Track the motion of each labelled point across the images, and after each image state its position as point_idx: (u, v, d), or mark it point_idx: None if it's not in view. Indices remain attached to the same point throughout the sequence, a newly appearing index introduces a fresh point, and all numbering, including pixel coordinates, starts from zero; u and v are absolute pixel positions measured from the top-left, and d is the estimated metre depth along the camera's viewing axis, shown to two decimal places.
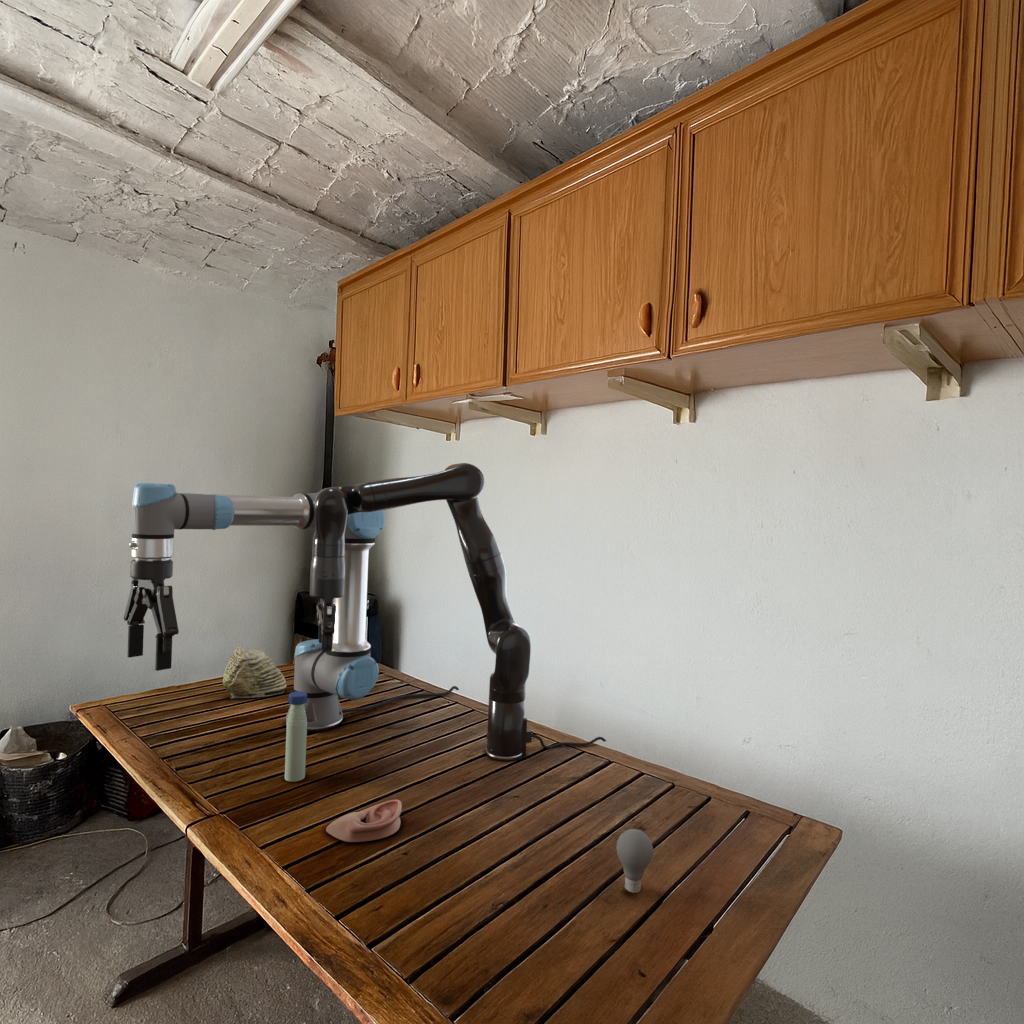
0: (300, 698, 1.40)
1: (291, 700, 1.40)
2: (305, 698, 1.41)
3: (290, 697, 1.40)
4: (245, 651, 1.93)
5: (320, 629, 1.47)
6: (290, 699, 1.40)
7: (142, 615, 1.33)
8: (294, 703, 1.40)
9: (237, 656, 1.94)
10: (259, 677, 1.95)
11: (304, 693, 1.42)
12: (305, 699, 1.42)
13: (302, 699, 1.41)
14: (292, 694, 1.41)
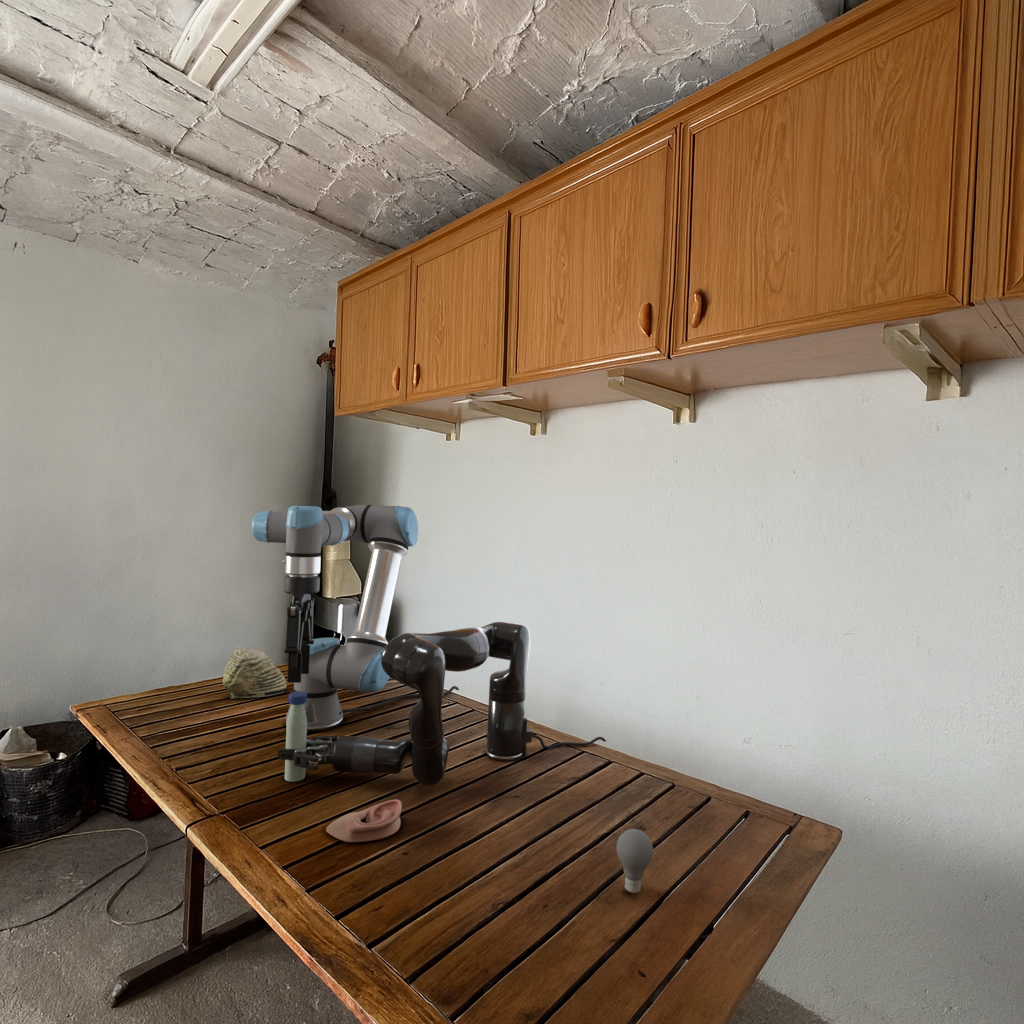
0: (300, 698, 1.40)
1: (291, 700, 1.40)
2: (305, 698, 1.41)
3: (290, 697, 1.40)
4: (245, 651, 1.93)
5: None
6: (290, 699, 1.40)
7: (306, 633, 1.45)
8: (294, 703, 1.40)
9: (237, 656, 1.94)
10: (259, 677, 1.95)
11: (304, 693, 1.42)
12: (305, 699, 1.42)
13: (302, 699, 1.41)
14: (292, 694, 1.41)
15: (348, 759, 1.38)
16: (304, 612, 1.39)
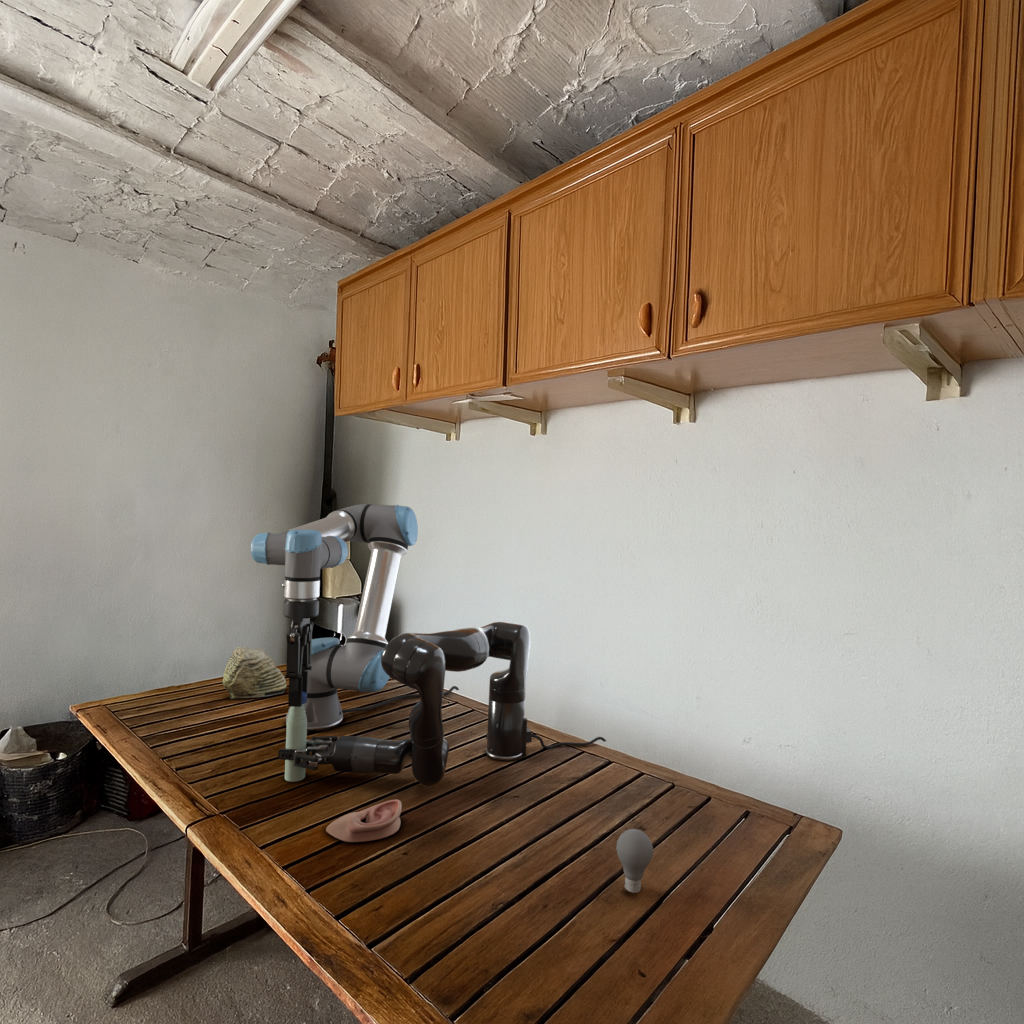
0: None
1: None
2: (305, 698, 1.41)
3: None
4: (245, 651, 1.93)
5: None
6: None
7: (304, 658, 1.44)
8: None
9: (237, 656, 1.94)
10: (259, 677, 1.95)
11: (304, 693, 1.42)
12: (305, 699, 1.42)
13: (302, 699, 1.41)
14: None
15: (348, 759, 1.38)
16: (303, 637, 1.40)
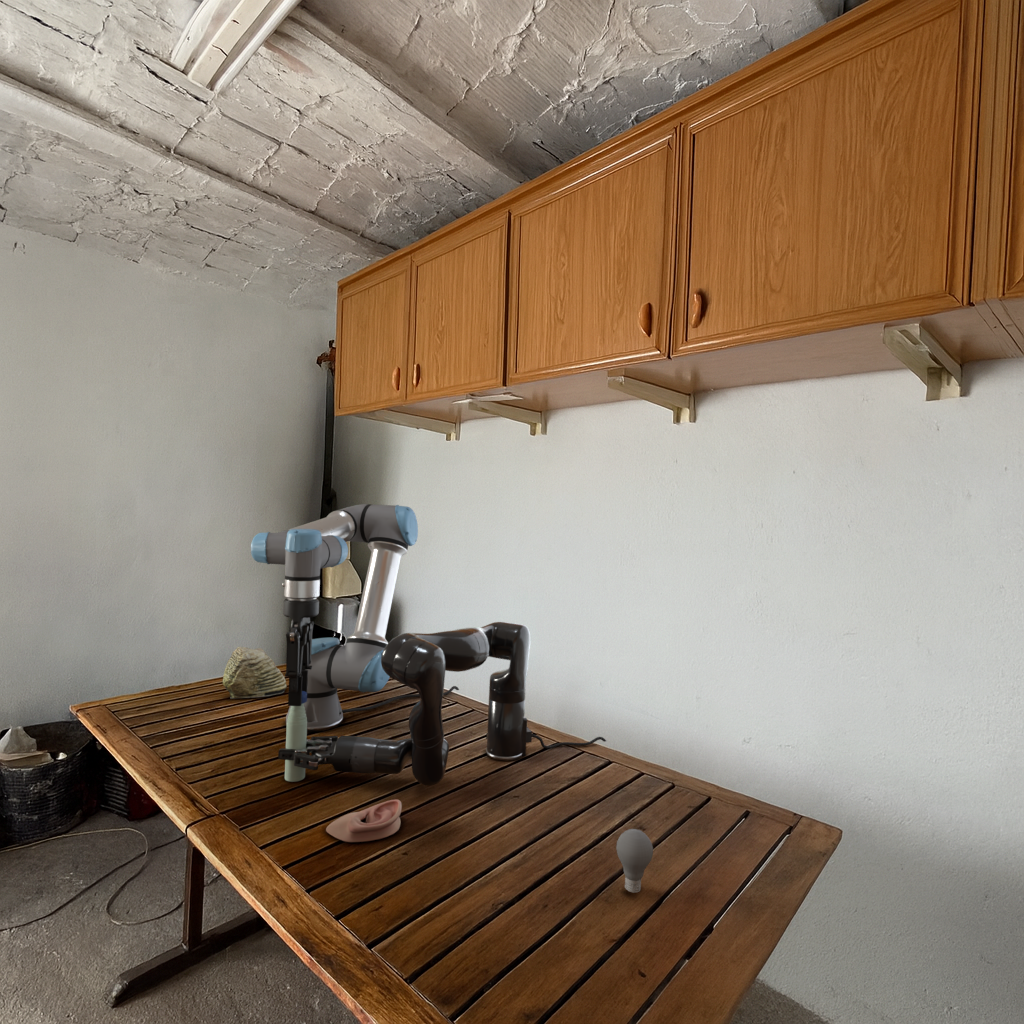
0: None
1: (306, 697, 1.42)
2: None
3: (306, 695, 1.42)
4: (245, 651, 1.93)
5: None
6: (306, 696, 1.42)
7: (305, 657, 1.44)
8: None
9: (237, 656, 1.94)
10: (259, 677, 1.95)
11: None
12: None
13: None
14: (302, 694, 1.41)
15: (348, 759, 1.38)
16: (303, 636, 1.40)
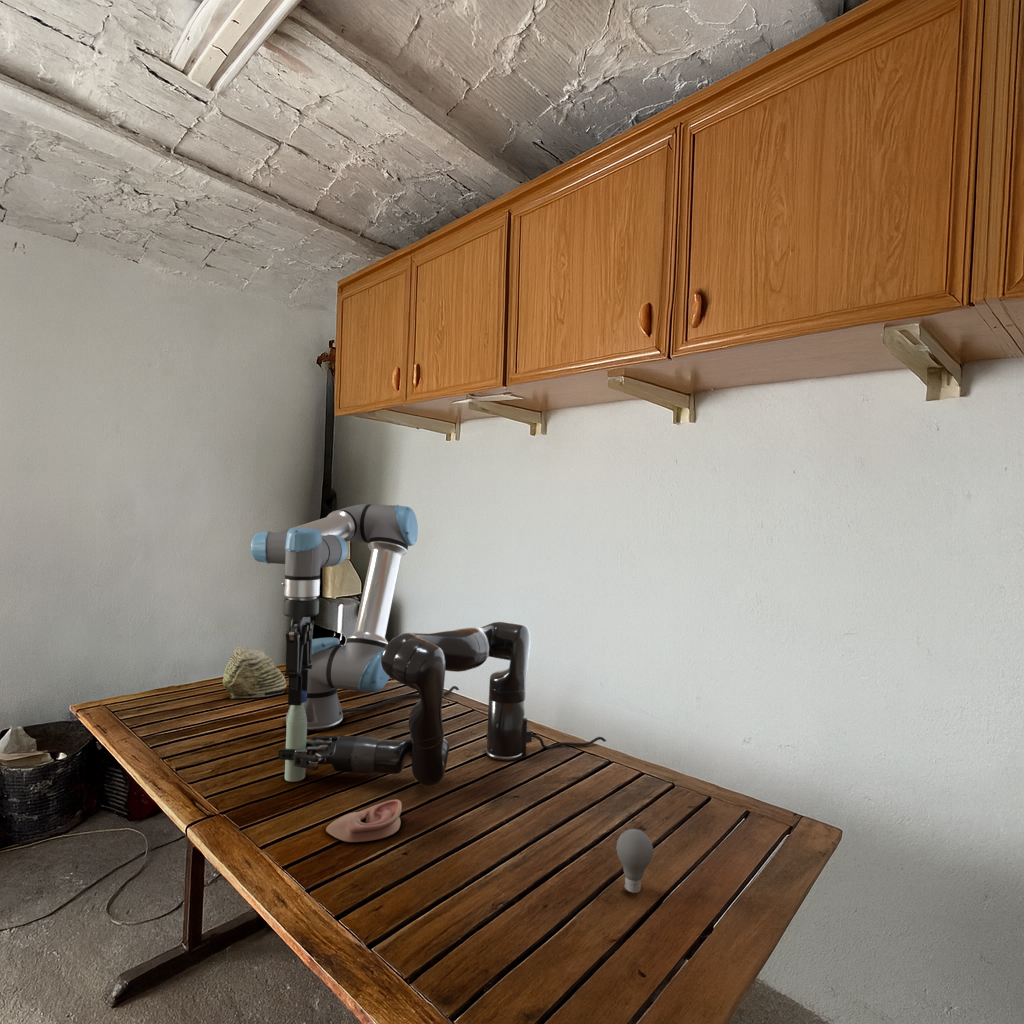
0: None
1: None
2: None
3: None
4: (245, 651, 1.93)
5: None
6: None
7: (305, 656, 1.44)
8: None
9: (237, 656, 1.94)
10: (259, 677, 1.95)
11: None
12: None
13: None
14: None
15: (348, 759, 1.38)
16: (303, 635, 1.40)
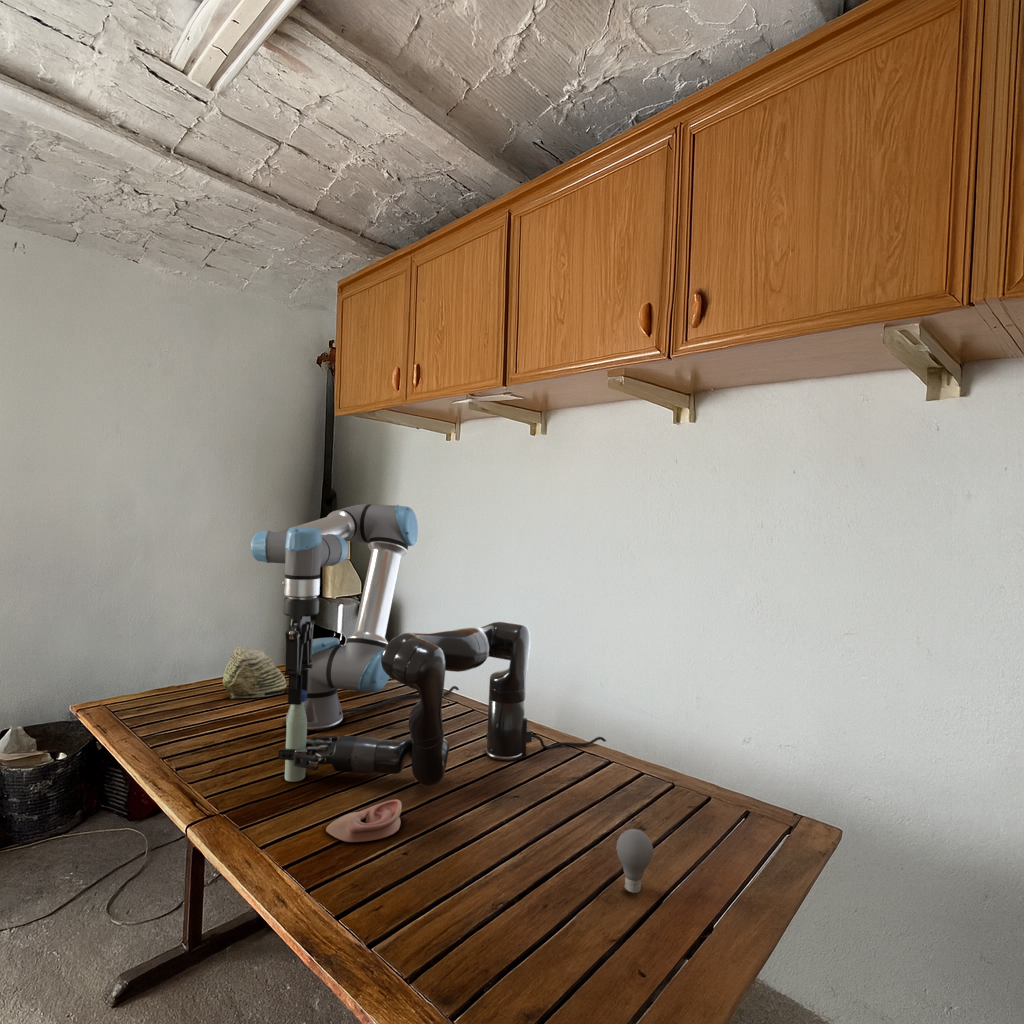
0: (304, 695, 1.41)
1: None
2: (306, 695, 1.42)
3: None
4: (245, 651, 1.93)
5: None
6: None
7: (305, 656, 1.44)
8: None
9: (237, 656, 1.94)
10: (259, 677, 1.95)
11: (303, 690, 1.43)
12: (306, 696, 1.43)
13: (305, 696, 1.42)
14: None
15: (348, 759, 1.38)
16: (303, 635, 1.40)
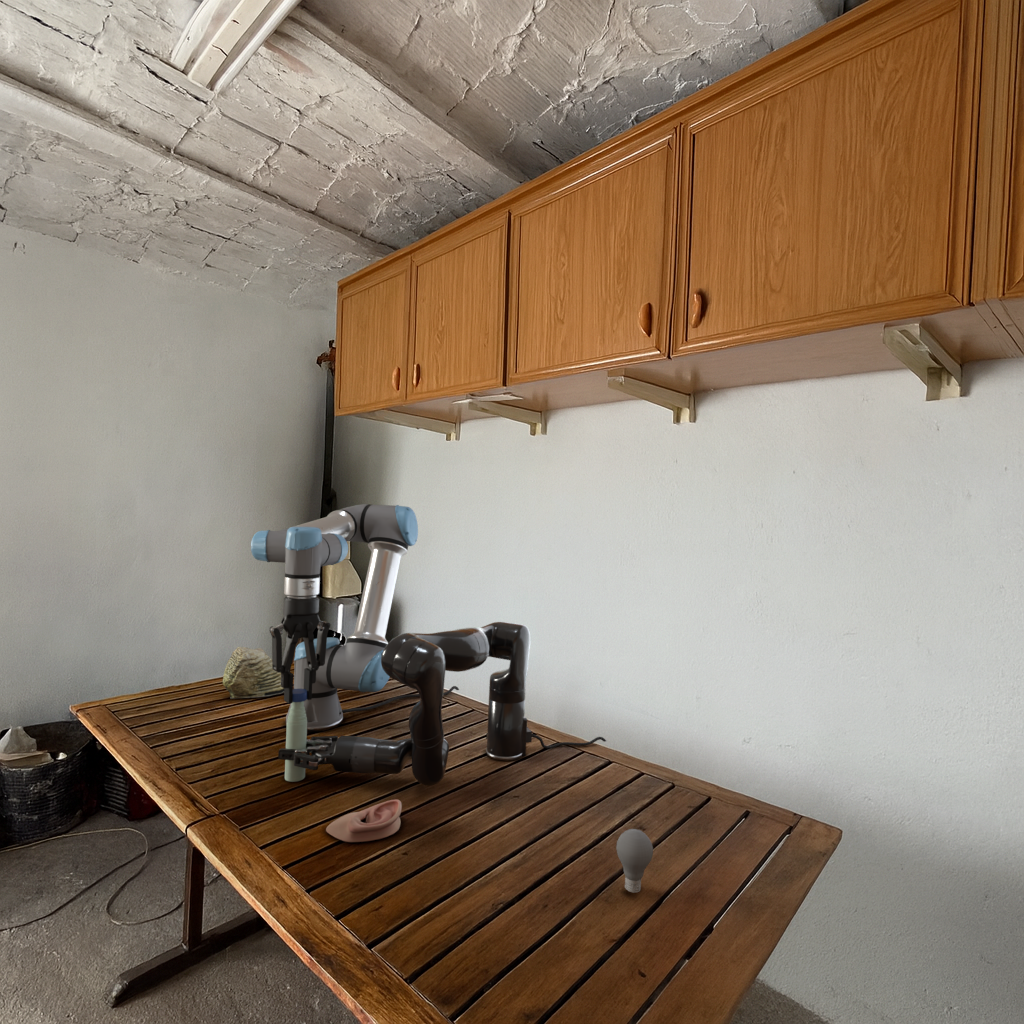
0: None
1: None
2: None
3: None
4: (245, 651, 1.93)
5: None
6: None
7: None
8: None
9: (237, 656, 1.94)
10: (259, 677, 1.95)
11: None
12: None
13: None
14: (303, 691, 1.42)
15: (348, 759, 1.38)
16: None
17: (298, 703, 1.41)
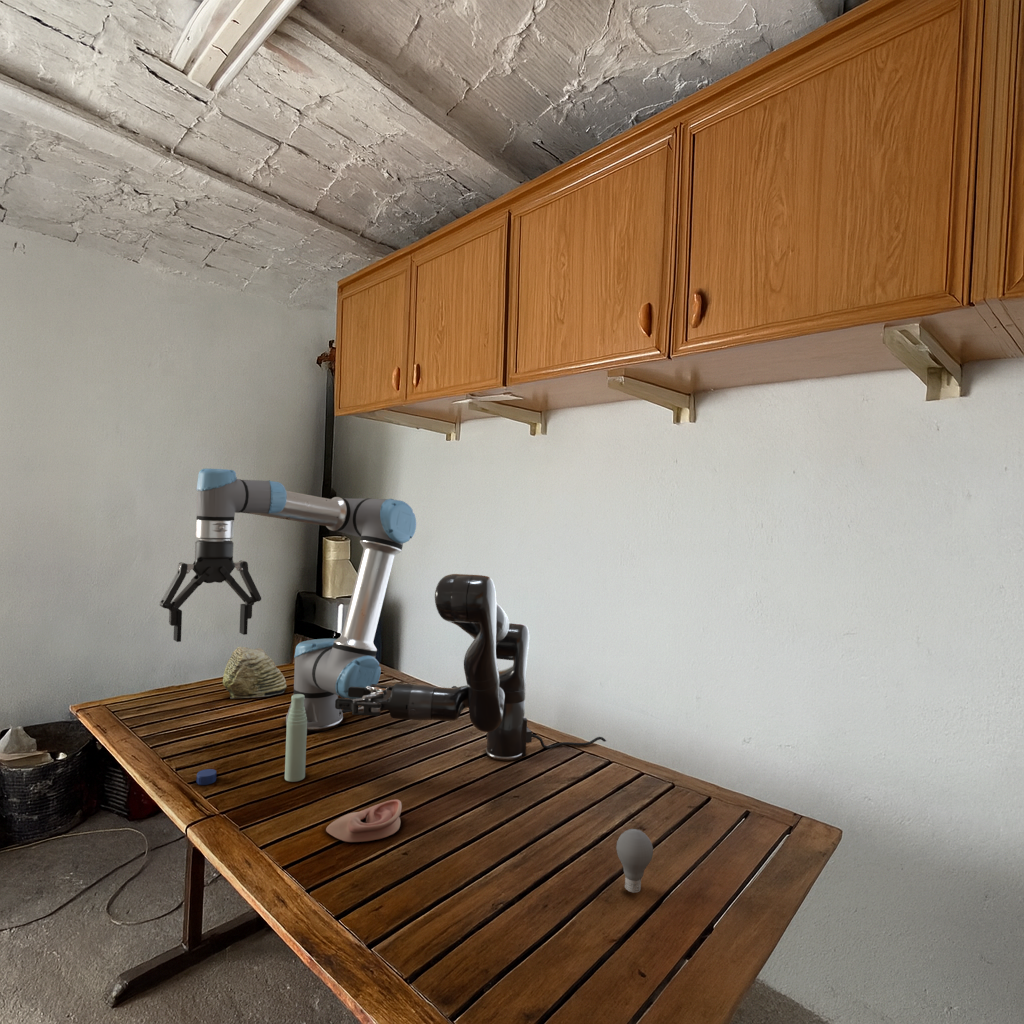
0: None
1: None
2: None
3: None
4: (245, 651, 1.93)
5: None
6: None
7: None
8: None
9: (237, 656, 1.94)
10: (259, 677, 1.95)
11: (200, 772, 1.38)
12: None
13: None
14: (212, 772, 1.39)
15: (405, 705, 1.37)
16: None
17: (298, 703, 1.41)
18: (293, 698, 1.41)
